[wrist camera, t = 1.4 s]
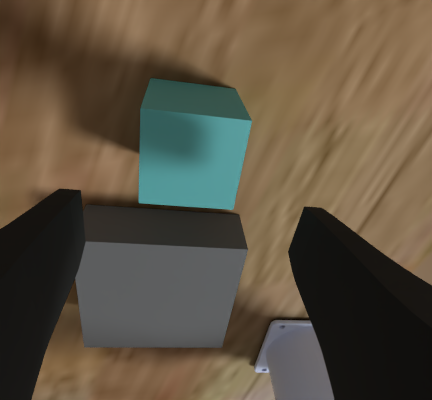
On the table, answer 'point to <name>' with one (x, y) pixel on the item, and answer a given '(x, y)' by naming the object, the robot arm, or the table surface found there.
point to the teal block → (191, 144)
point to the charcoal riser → (158, 277)
